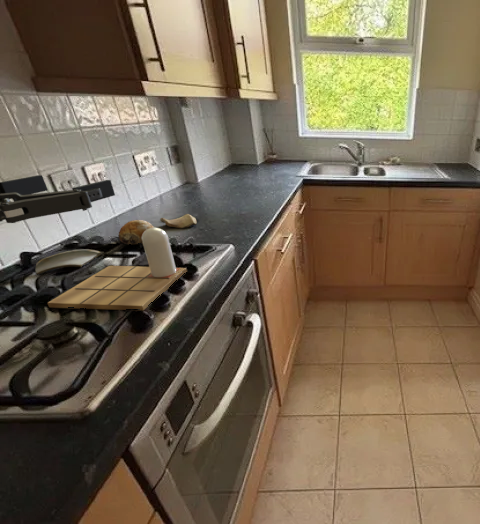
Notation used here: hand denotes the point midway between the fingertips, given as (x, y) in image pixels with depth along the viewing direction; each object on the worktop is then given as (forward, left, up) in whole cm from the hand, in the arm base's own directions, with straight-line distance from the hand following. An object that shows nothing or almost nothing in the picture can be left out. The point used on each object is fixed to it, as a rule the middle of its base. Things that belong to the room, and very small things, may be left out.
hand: (76, 185), depth 59 cm
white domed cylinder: (+2, +14, -25) cm, 29 cm away
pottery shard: (-15, +53, -26) cm, 61 cm away
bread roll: (-20, +38, -26) cm, 51 cm away
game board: (-4, +8, -26) cm, 28 cm away
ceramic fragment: (-26, +19, -26) cm, 42 cm away
